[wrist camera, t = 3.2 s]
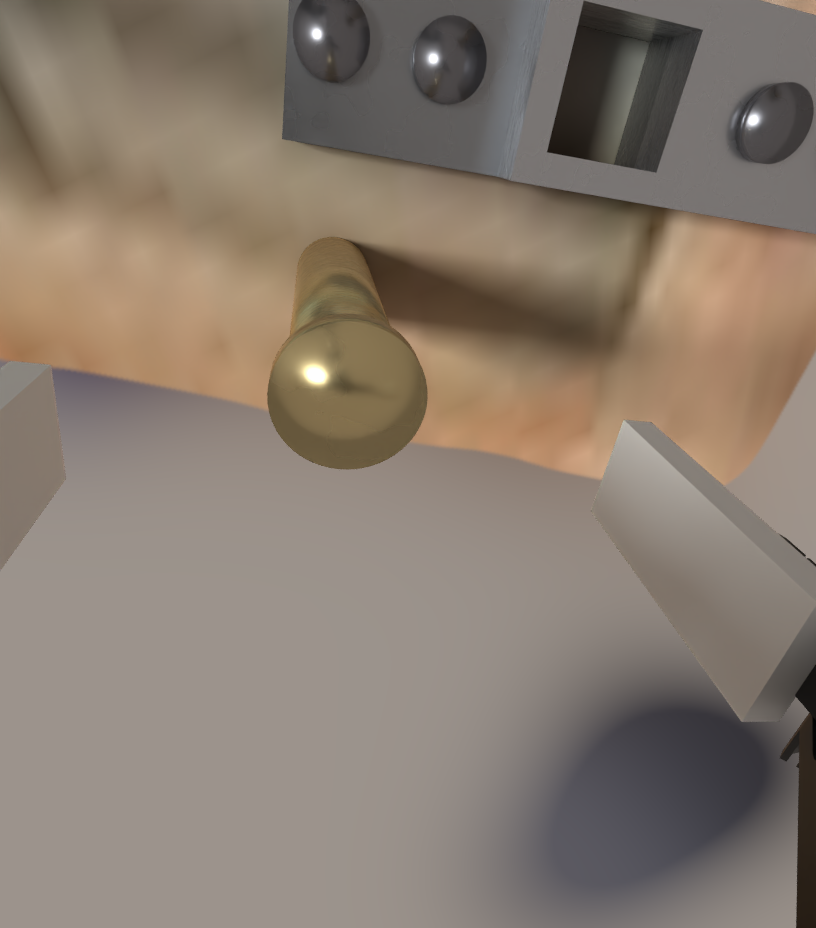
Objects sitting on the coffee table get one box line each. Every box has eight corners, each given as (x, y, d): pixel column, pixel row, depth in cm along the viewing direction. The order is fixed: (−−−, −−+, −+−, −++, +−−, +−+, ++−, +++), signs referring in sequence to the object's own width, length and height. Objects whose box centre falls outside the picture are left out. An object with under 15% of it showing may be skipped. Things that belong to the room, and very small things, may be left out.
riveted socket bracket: (284, 137, 25) (278, 141, 21) (295, -84, 22) (291, -129, 18) (787, 226, 30) (859, 242, 26) (862, 57, 27) (957, 46, 23)
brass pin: (286, 312, 29) (264, 463, 16) (291, 221, 27) (271, 312, 14) (370, 322, 30) (413, 474, 17) (382, 235, 28) (440, 332, 15)
